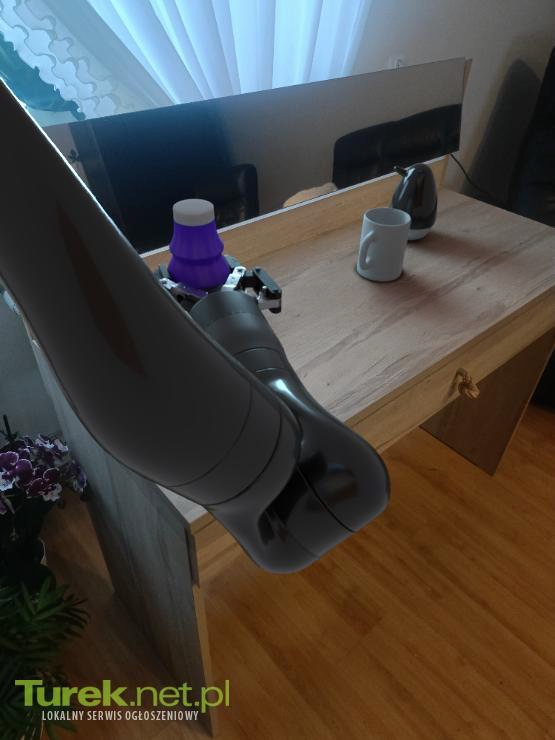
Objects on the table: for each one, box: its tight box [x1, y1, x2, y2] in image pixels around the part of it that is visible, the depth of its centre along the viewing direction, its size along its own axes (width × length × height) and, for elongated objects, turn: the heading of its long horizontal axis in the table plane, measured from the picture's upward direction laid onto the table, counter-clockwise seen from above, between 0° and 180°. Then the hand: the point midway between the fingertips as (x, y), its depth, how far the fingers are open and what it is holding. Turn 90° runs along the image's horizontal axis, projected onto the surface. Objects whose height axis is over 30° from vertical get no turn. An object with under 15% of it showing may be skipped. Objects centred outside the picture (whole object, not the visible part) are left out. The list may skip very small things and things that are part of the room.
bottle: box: [166, 198, 231, 289], centre depth 55 cm, size 7×6×17 cm
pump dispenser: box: [388, 162, 438, 241], centre depth 104 cm, size 10×10×15 cm
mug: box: [356, 207, 411, 282], centre depth 91 cm, size 12×8×11 cm
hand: (194, 266), depth 56 cm, fingers closed on bottle, 6 cm apart
